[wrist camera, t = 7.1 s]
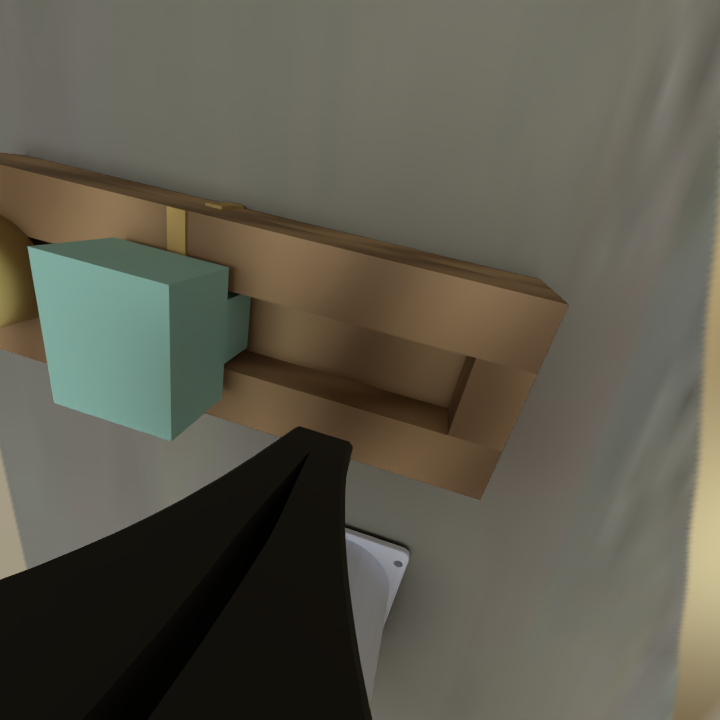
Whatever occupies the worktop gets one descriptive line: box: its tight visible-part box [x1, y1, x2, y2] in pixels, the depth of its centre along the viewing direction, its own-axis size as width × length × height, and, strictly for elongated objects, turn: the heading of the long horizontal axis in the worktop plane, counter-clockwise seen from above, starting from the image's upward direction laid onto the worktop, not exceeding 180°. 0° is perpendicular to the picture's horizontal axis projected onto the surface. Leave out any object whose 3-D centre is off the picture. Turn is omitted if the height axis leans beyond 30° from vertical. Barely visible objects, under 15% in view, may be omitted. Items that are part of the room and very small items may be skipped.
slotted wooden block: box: [0, 153, 569, 500], centre depth 15 cm, size 24×8×6 cm, turn 79°
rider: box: [27, 237, 251, 441], centre depth 14 cm, size 4×5×5 cm
